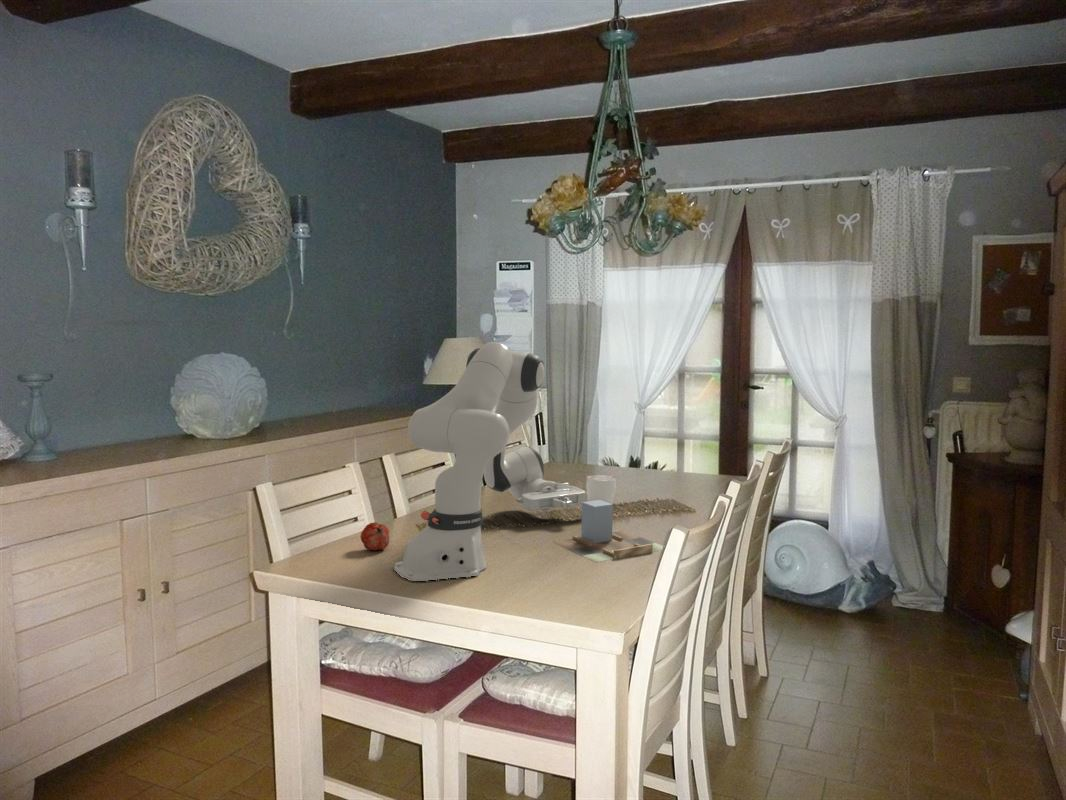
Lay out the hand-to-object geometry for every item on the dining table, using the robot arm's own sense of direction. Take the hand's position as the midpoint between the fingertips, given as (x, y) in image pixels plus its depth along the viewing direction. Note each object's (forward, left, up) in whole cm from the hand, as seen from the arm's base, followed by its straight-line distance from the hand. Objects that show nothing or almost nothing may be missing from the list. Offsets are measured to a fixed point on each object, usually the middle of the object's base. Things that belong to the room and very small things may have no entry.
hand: (568, 505), depth 226 cm
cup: (+18, +9, -7) cm, 21 cm away
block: (0, -15, -6) cm, 16 cm away
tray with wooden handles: (0, -21, -7) cm, 22 cm away
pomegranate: (-55, +8, -8) cm, 56 cm away
